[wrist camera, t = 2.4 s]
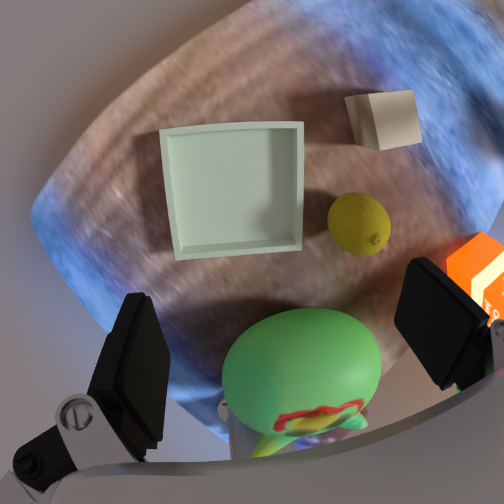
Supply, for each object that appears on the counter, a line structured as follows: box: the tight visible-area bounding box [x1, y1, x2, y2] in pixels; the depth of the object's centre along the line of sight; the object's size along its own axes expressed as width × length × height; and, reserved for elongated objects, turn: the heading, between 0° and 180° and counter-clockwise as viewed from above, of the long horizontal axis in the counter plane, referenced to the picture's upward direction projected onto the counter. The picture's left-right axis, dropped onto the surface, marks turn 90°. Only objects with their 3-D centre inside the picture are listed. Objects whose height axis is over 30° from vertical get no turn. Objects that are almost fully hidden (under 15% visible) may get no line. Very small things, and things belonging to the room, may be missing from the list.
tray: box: [159, 121, 304, 260], centre depth 25 cm, size 12×12×2 cm
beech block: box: [344, 90, 422, 151], centre depth 22 cm, size 5×5×5 cm
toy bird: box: [222, 308, 381, 458], centre depth 29 cm, size 18×17×15 cm
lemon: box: [328, 192, 391, 256], centre depth 25 cm, size 6×6×8 cm
